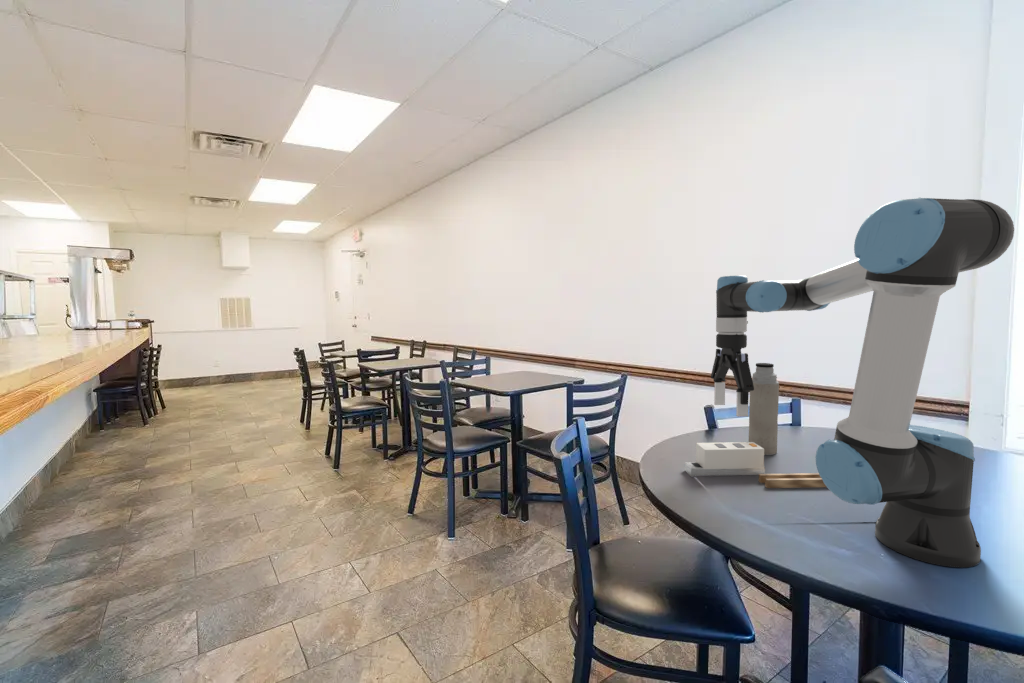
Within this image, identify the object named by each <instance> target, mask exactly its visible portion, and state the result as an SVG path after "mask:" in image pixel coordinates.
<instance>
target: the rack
mask: <svg viewBox="0 0 1024 683" xmlns="http://www.w3.org/2000/svg"><path fill="white" fill-rule="evenodd" d="M758 483H760V484H764V487H765V488H767V489H783V488H784V489H789V488H790V489H792V488H793V489H794V488H795V489H797V488H799V489H800V488H802V489H805V488H806V489H807V488H827V486H826V485H825V484H824V482H823V480H822V478H821V477H820V475H819V473H818V472H812V473H811V472H810V473H809V472H808V473H807V472H803V473H801V472H800V473H798V472H797V473H796V472H795V473H765V474H759V475H758Z"/></svg>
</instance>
